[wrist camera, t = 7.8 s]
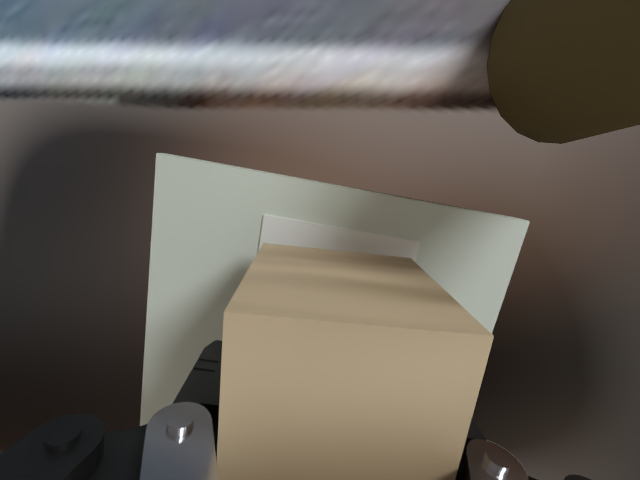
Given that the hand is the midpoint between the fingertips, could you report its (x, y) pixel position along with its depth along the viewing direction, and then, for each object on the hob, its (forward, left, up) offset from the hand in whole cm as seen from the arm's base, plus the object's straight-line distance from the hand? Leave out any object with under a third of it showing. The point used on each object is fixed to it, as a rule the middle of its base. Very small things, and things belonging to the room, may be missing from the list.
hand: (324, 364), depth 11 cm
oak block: (0, 0, -1) cm, 1 cm away
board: (0, 0, -3) cm, 3 cm away
